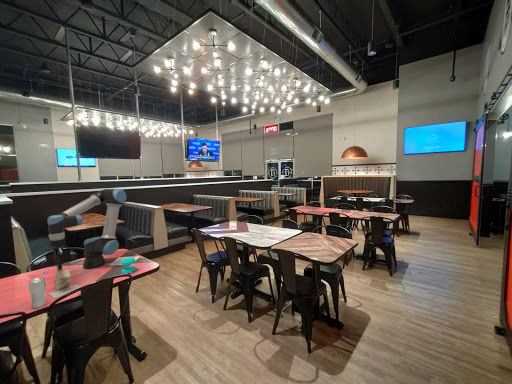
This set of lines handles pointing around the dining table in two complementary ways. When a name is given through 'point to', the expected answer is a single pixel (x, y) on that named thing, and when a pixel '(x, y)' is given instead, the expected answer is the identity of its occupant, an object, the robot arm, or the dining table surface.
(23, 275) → the dining table surface
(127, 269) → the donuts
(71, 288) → the grey mat
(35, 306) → the beer glass
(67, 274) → the maple block
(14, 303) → the dining table surface
